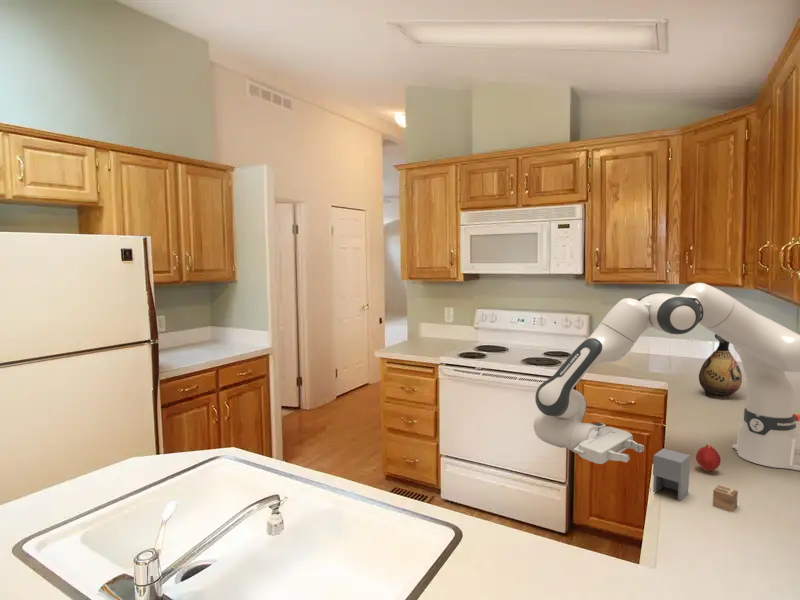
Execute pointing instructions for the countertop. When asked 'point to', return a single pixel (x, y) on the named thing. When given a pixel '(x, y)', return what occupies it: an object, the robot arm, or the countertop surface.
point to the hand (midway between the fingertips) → (635, 453)
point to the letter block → (725, 498)
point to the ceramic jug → (720, 373)
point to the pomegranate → (708, 458)
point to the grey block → (671, 471)
